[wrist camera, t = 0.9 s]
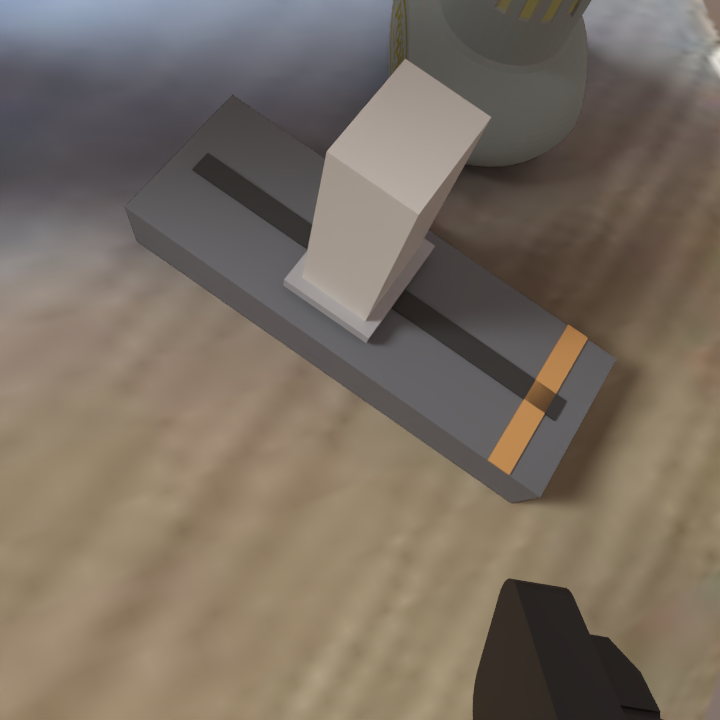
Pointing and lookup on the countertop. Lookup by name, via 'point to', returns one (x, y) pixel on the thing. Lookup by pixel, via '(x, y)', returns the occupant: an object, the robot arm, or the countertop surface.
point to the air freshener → (501, 66)
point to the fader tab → (384, 198)
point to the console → (399, 327)
